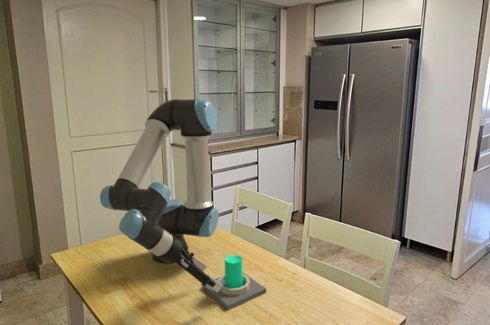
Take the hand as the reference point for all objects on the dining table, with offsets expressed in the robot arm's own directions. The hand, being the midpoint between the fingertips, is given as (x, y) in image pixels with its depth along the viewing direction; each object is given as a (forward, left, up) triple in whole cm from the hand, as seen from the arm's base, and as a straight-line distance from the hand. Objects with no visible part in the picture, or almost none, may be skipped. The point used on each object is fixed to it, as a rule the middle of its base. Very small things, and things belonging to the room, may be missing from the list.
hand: (211, 278), depth 118 cm
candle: (+1, +8, -6) cm, 10 cm away
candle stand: (+1, +8, -7) cm, 11 cm away
